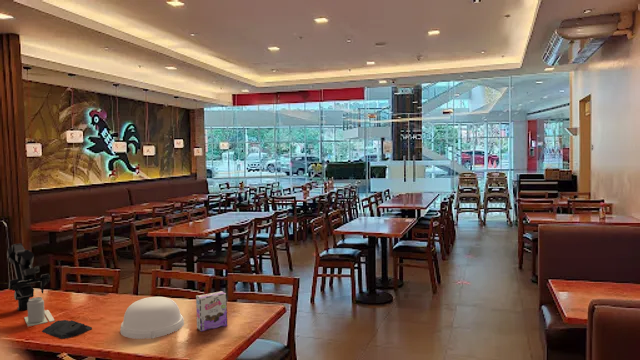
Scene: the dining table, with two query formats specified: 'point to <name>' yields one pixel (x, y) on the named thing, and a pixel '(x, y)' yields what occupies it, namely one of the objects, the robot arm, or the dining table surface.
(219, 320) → the candy box
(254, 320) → the dining table surface
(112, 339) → the dining table surface
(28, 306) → the can
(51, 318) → the strip
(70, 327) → the dark slate chunk
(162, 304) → the dome cover
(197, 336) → the dining table surface
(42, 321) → the pad
